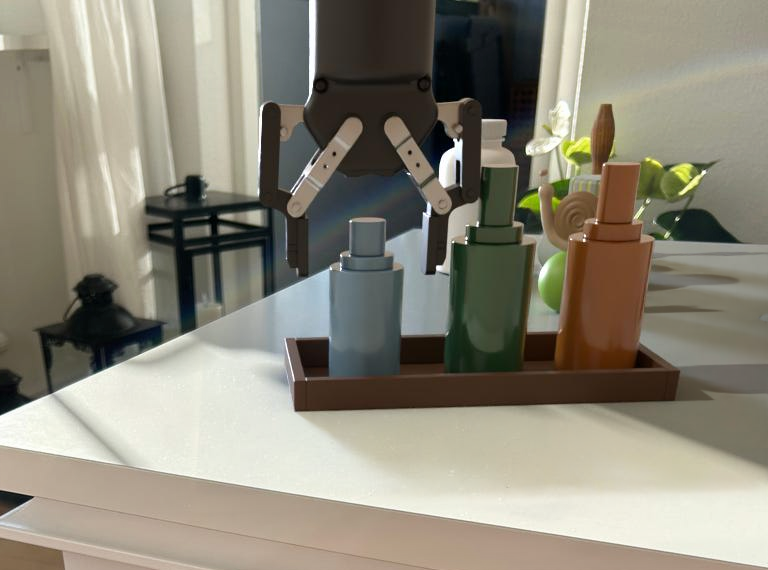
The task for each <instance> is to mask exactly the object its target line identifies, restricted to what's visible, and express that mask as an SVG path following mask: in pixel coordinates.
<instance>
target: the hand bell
mask: <svg viewBox="0 0 768 570" xmlns="http://www.w3.org/2000/svg"><path fill="white" fill-rule="evenodd" d="M615 135H616V121H615V117H614V112H613V104H612V103H600V104H599V107H598V111H597V114H596V116H595V118H594V121H593V124H592V127H591V132H590V140H589V141H590V143H589V147H590V156H591V157H590V158H591V165H592V166H591V174H590V175H601V173H602V165H603V163H606V162H609V158H610V157H611V154H612V151H613V148H614V147H613V146H614V142H615Z"/></svg>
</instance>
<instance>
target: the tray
mask: <svg viewBox="0 0 768 570" xmlns="http://www.w3.org/2000/svg"><path fill="white" fill-rule="evenodd" d="M557 332H558V330H552V331H551V330H550V331H549V330H548V331H547V330H546V331H545V330H544V331H527V339H526V349H525V358H524V368H523V372H488V373H451V374H443V364H444V348H445V333H431V334H430V333H429V334H428V333H427V334H401V351H400V374H399V375H377V376H340V377H329V336H316V337H315V336H313V337H311V336H309V337H285V338H283V339H284V340H283V343H284V367H285V373H286V378H287V383H288V388H289V392H290V398H291V403H292V407H293V412H296V413H297V412H298V413H299V412H302V413H303V412H330V411H331V412H333V411H334V412H335V411H336V412H337V411H366V410H368V411H369V410H370V411H371V410H373V411H374V410H403V409H404V410H405V409H434V408H435V409H437V408H438V409H439V408H472V407H473V408H474V407H509V406H511V407H512V406H540V405H542V406H543V405H572V404H573V405H576V404H577V405H579V404H612V403H613V404H615V403H617V404H619V403H649V402H650V403H651V402H675V401H676V397H677V393H678V386H679V380H680V374H681V369H679V368H677V367H676V366H675V365H674V364H672V363H670V362H669V361H667V360H666V359H665V358H663V357H661V356H660V355H659V354H657V353H656V352H654V351H653V350H651V349H650V348H648V347H647V346H645V345H644V344H642V343H641V342H640V341H639V346H638V352H637V359H636V365H635V369H599V370H562V371H553V366H554V357H555V349H556V340H557Z"/></svg>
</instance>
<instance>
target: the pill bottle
mask: <svg viewBox="0 0 768 570" xmlns="http://www.w3.org/2000/svg"><path fill="white" fill-rule="evenodd" d="M507 127H508V122H507V120H506V119H495V118H494V119H493V118H482V134H481V166H482V165H487V164H512V165H516V159H515V155H514V154H513V152H512V151H511V150H509V149H508V148H506V147H503V146H502V144H503V142H505V141H506V138H505V136H507V129H508V128H507ZM453 142H454V143H455V139H453ZM454 170H455V147H452V148H450V149H448V150H447V151H445V152H444V153H443V154H442V156H441V159H440V163H439V171H438V173H439V174H438V180H439V181H440V183H441V184H442V186H443V188H446V187H448V186H451V185H453V184H454ZM478 201H479V199H478V200H477V201H476V202H475V203H472V204H465V205H463V206H460V207H458V208H456V209H454V210H453V211H452V212H451V214H450V216H449V222H448V238H447V253H446V259H445V262H444V264H443V266H436V272H440V273H441V274H446V275H449V271H450V255H451V240H452V239H453V238H454V237H457V236H461V235H465V233H466V224H467V223H468V222H471V221H477V215H478Z"/></svg>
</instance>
